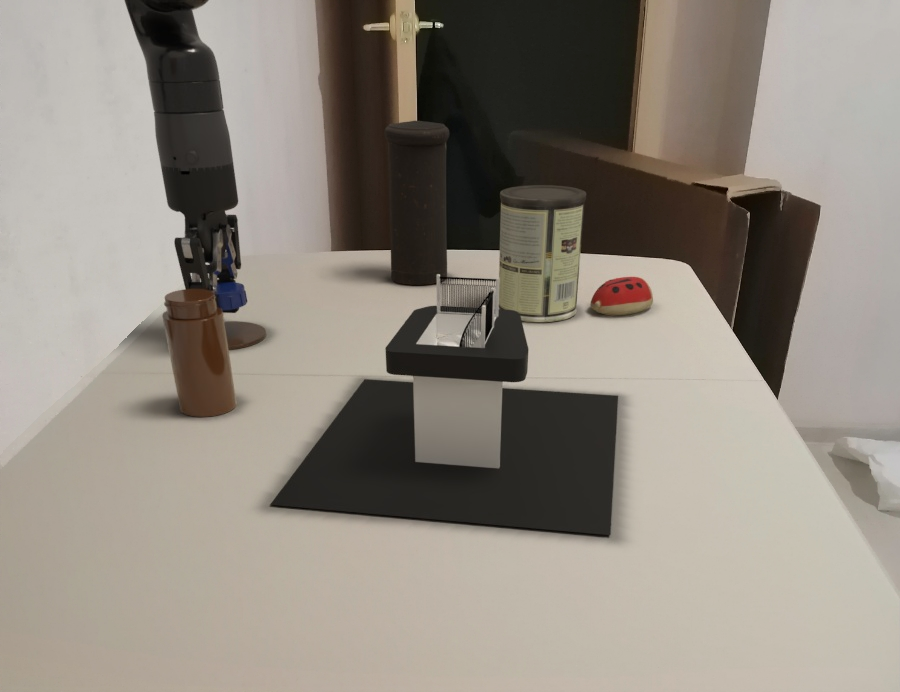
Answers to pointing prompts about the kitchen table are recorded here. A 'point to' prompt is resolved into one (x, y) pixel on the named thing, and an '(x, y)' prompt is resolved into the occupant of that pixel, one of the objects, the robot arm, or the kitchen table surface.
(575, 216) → the coffee can
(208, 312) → the jar
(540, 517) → the black-topped pedestal
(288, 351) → the kitchen table surface
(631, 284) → the ladybug figurine
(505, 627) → the kitchen table surface
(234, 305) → the lid
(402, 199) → the container
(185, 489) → the kitchen table surface
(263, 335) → the coaster
